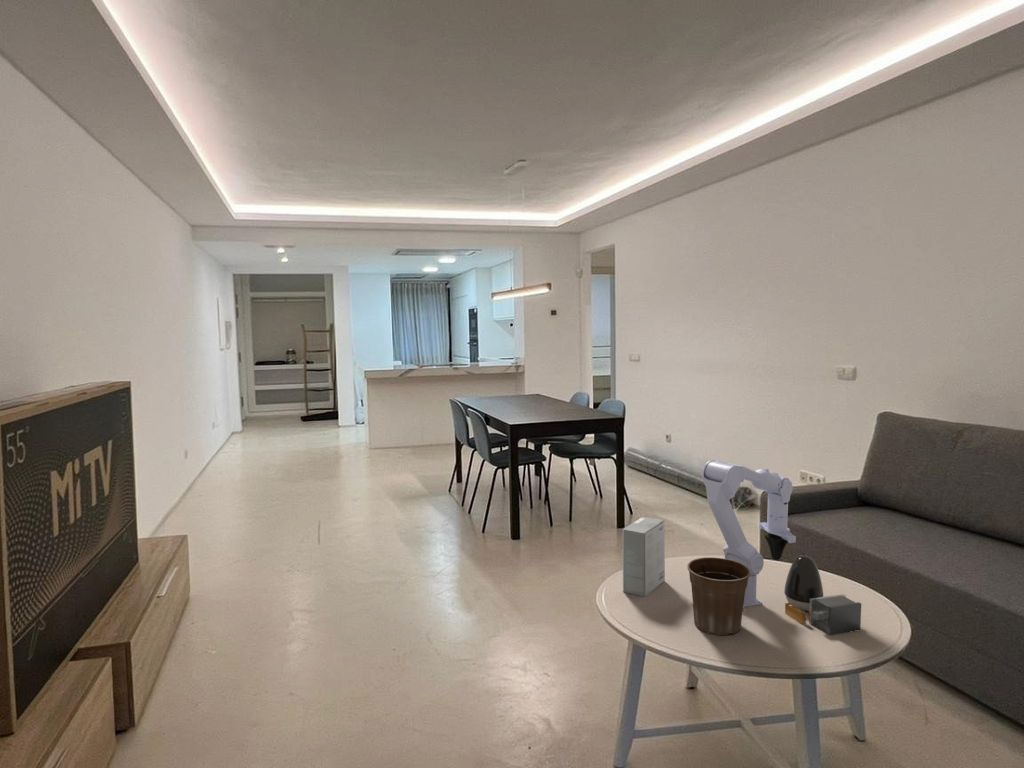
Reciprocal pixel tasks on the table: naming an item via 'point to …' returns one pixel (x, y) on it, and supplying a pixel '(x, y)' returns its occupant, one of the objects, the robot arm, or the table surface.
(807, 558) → the dark grey egg shape
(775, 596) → the table surface
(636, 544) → the hard drive box
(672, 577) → the table surface
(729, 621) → the plant pot
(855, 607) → the motor
